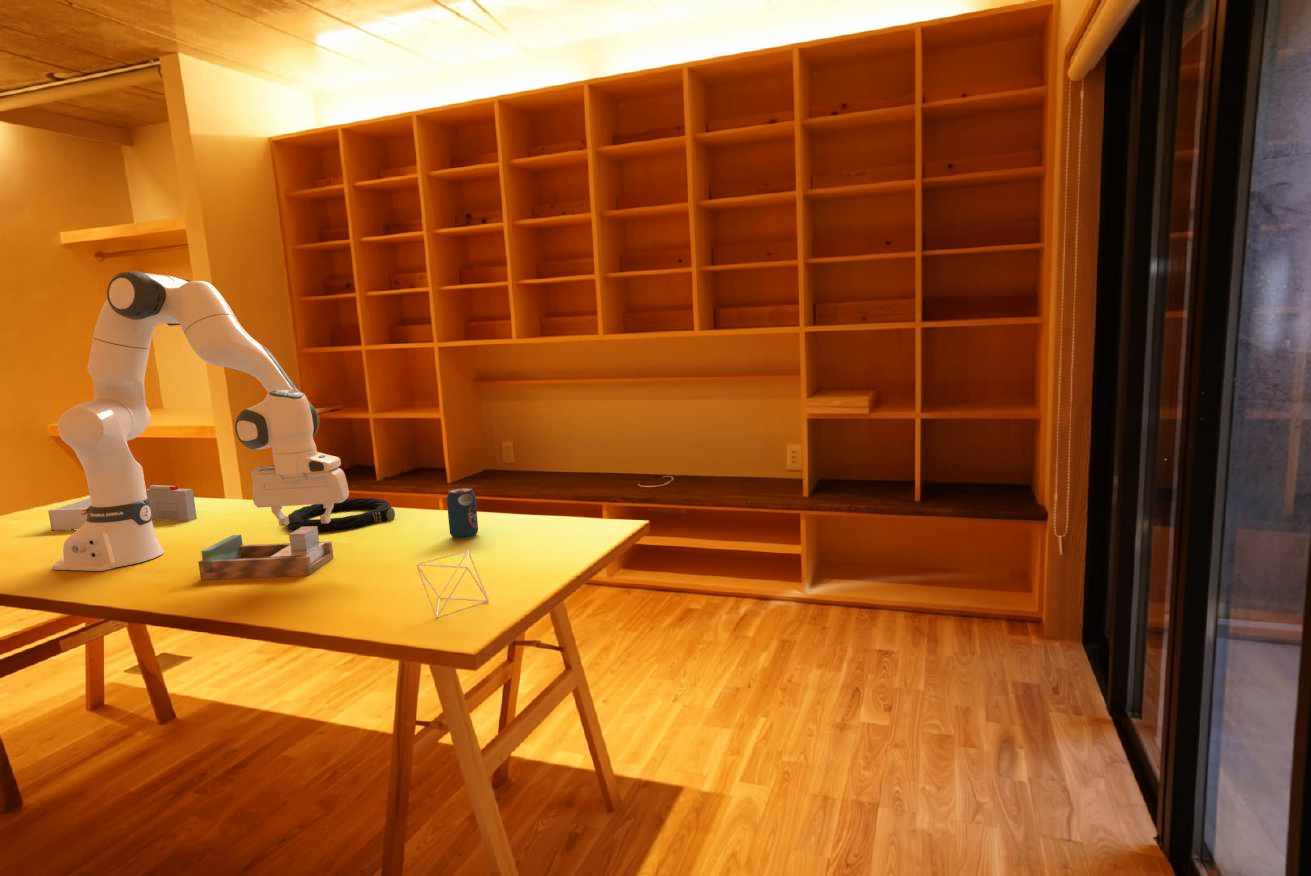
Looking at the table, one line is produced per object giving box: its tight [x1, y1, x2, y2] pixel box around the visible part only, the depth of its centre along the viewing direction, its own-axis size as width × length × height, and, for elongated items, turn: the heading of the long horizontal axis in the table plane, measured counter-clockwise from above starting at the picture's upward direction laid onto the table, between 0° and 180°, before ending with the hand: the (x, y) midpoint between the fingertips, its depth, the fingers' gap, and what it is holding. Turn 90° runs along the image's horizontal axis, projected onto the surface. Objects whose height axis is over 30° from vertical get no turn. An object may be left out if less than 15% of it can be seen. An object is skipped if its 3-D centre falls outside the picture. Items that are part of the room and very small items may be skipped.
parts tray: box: [47, 497, 91, 531], centre depth 227 cm, size 13×23×6 cm, turn 179°
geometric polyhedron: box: [415, 550, 489, 619], centre depth 143 cm, size 12×11×9 cm
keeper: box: [270, 526, 326, 564], centre depth 171 cm, size 8×9×7 cm
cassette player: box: [146, 484, 198, 522], centre depth 223 cm, size 16×3×10 cm, turn 71°
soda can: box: [446, 486, 479, 541], centre depth 189 cm, size 7×7×12 cm
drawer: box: [197, 534, 334, 581], centre depth 171 cm, size 24×12×6 cm, turn 89°
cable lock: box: [287, 497, 396, 533], centre depth 213 cm, size 28×4×30 cm
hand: (305, 523), depth 170 cm, fingers open, 8 cm apart
